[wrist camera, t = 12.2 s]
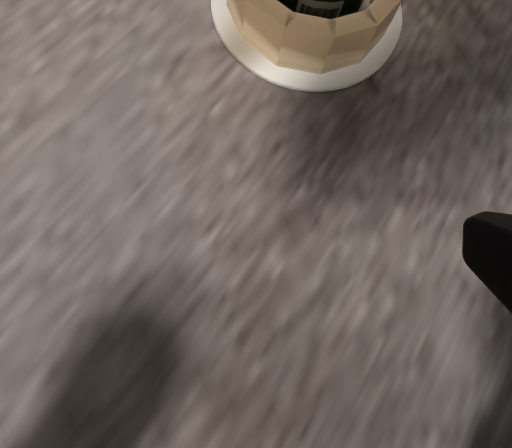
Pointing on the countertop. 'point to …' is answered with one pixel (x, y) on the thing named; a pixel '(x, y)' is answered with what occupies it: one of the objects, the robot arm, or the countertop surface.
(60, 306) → the countertop surface
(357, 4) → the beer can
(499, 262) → the robot arm
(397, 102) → the countertop surface
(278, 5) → the can holder
